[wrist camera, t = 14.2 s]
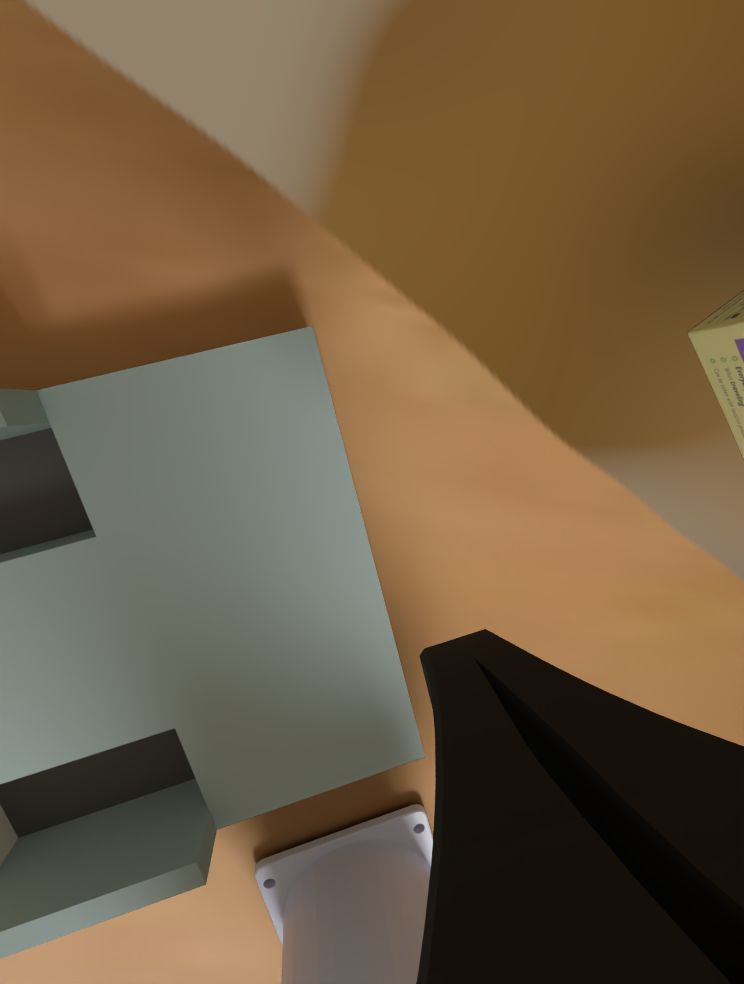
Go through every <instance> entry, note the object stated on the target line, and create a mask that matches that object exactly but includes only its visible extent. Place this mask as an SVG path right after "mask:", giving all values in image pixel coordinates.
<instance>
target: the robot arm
mask: <svg viewBox="0 0 744 984" xmlns="http://www.w3.org/2000/svg"><path fill="white" fill-rule="evenodd" d="M420 660H421V664H422V668H423V672H424V676H425V680H426V684H427V688H428V692H429V696H430V700H431V704H432V708H433V715H434V726H435V759H436V790H435V815H434V832H433V837H432V833H431V829H430V825H429V822H428V818H427V815H426V811H425V809H424V807H423V806H421V805H418V804H414V805H411V806H408V807H405V808H402V809H400V810H397V811H394V812H391V813H388V814H386V815H383V816H380V817H377V818H375V819H372V820H369V821H366V822H363V823H361V824H358V825H355V826H352V827H350V828H347V829H344V830H341V831H339V832H336V833H333V834H330V835H327V836H325V837H322V838H319V839H316V840H314V841H311V842H308V843H305V844H302V845H300V846H297V847H294V848H291V849H289V850H286V851H283V852H280V853H277V854H275V855H272V856H269V857H266V858H264V859H262V860H260V861H259V862H258V863H257V865H256V867H255V879H256V881H257V884H258V886H259V889H260V891H261V894H262V896H263V899H264V901H265V904H266V906H267V909H268V912H269V914H270V917H271V919H272V922H273V924H274V927H275V929H276V932H277V934H278V937H279V939H280V942H281V944H282V947H283V950H282V982H281V984H744V746H741V745H738V744H736V743H733V742H730V741H727V740H725V739H722V738H719V737H716V736H714V735H711V734H708V733H706V732H703V731H700V730H697V729H695V728H692V727H689V726H686V725H684V724H681V723H679V722H676V721H674V720H671V719H669V718H666V717H664V716H661V715H659V714H656V713H654V712H651V711H649V710H647V709H645V708H642V707H640V706H638V705H635V704H633V703H631V702H629V701H626V700H624V699H622V698H619V697H617V696H615V695H613V694H610V693H608V692H606V691H604V690H602V689H600V688H598V687H595V686H593V685H591V684H589V683H587V682H585V681H583V680H581V679H579V678H577V677H575V676H573V675H571V674H569V673H567V672H565V671H563V670H561V669H559V668H557V667H555V666H553V665H551V664H549V663H547V662H545V661H543V660H541V659H540V658H538V657H536V656H534V655H532V654H530V653H528V652H527V651H525V650H523V649H521V648H519V647H517V646H515V645H514V644H512V643H510V642H508V641H506V640H505V639H503V638H501V637H499V636H497V635H495V634H494V633H492V632H490V631H488V630H486V629H484V630H481V631H478V632H475V633H472V634H469V635H465V636H462V637H459V638H456V639H453V640H450V641H447V642H444V643H441V644H437V645H434V646H431V647H428V648H425V649H424V650H423V651H422V653H421V655H420ZM417 824H419V825H417Z"/></svg>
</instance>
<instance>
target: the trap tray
mask: <svg viewBox="0 0 744 984" xmlns="http://www.w3.org/2000/svg"><path fill="white" fill-rule="evenodd" d="M424 757H425V755H424V751H423V747H422V743H421V739H420V736H419V732H418V728H417V724H416V720H415V716H414V713H413V709H412V705H411V701H410V697H409V693H408V690H407V686H406V682H405V678H404V674H403V670H402V667H401V663H400V659H399V655H398V651H397V648H396V644H395V640H394V636H393V632H392V628H391V625H390V621H389V617H388V613H387V609H386V605H385V602H384V598H383V594H382V590H381V586H380V582H379V579H378V575H377V571H376V567H375V563H374V559H373V556H372V552H371V548H370V544H369V540H368V536H367V533H366V529H365V525H364V521H363V517H362V514H361V510H360V506H359V502H358V498H357V494H356V491H355V487H354V483H353V479H352V475H351V471H350V468H349V464H348V460H347V456H346V452H345V448H344V445H343V441H342V437H341V433H340V429H339V425H338V422H337V418H336V414H335V410H334V406H333V402H332V399H331V395H330V391H329V387H328V383H327V379H326V376H325V372H324V368H323V364H322V360H321V357H320V353H319V349H318V345H317V341H316V337H315V334H314V330H313V326H310V327H305V328H301V329H297V330H292V331H288V332H284V333H280V334H275V335H271V336H267V337H263V338H258V339H254V340H250V341H245V342H241V343H237V344H233V345H228V346H224V347H220V348H215V349H211V350H207V351H203V352H198V353H194V354H190V355H185V356H181V357H177V358H173V359H168V360H164V361H160V362H155V363H151V364H147V365H143V366H138V367H134V368H130V369H125V370H121V371H117V372H113V373H108V374H104V375H100V376H95V377H91V378H87V379H83V380H78V381H74V382H70V383H65V384H61V385H57V386H53V387H48V388H44V389H40V390H22V389H6V388H0V959H1V958H4V957H7V956H10V955H12V954H15V953H18V952H21V951H23V950H26V949H29V948H32V947H34V946H37V945H40V944H43V943H45V942H48V941H51V940H54V939H57V938H59V937H62V936H65V935H68V934H70V933H73V932H76V931H79V930H81V929H84V928H87V927H90V926H92V925H95V924H98V923H101V922H104V921H106V920H109V919H112V918H115V917H117V916H120V915H123V914H126V913H128V912H131V911H134V910H137V909H139V908H142V907H145V906H148V905H151V904H153V903H156V902H159V901H162V900H164V899H167V898H170V897H173V896H175V895H178V894H181V893H184V892H186V891H189V890H192V889H195V888H198V887H200V886H203V885H206V882H207V877H208V872H209V867H210V861H211V856H212V851H213V846H214V841H215V836H216V831H217V830H218V829H220V828H223V827H226V826H229V825H232V824H235V823H238V822H240V821H243V820H246V819H249V818H252V817H255V816H258V815H260V814H263V813H266V812H269V811H272V810H275V809H278V808H280V807H283V806H286V805H289V804H292V803H295V802H298V801H301V800H303V799H306V798H309V797H312V796H315V795H318V794H321V793H323V792H326V791H329V790H332V789H335V788H338V787H341V786H343V785H346V784H349V783H352V782H355V781H358V780H361V779H363V778H366V777H369V776H372V775H375V774H378V773H381V772H384V771H386V770H389V769H392V768H395V767H398V766H401V765H404V764H406V763H409V762H412V761H415V760H418V759H421V758H424Z"/></svg>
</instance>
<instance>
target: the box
mask: <svg viewBox="0 0 744 984" xmlns="http://www.w3.org/2000/svg"><path fill="white" fill-rule="evenodd" d="M687 333H688V336H689V339H690V341H691V343H692V345H693V347H694V350H695V352H696V353H697V356H698V358H699V359H700V362H701V364H702V366H703V369H704V371H705V373H706V375H707V378H708V380H709V382H710V384H711V387H712V389H713V391H714V393H715V395H716V398H717V400H718V402H719V404H720V407H721V409H722V411H723V413H724V415H725V418H726V420H727V422H728V425H729V427H730V429H731V432H732V434H733V436H734V438H735V441H736V443H737V445H738V447H739V450H740V452H741V454H742V457H743V459H744V291H742V292H741V293H739V294H738V295H737V296H735V297H734V298H733V299H731V300H730V301H728V302H727V303H726V304H724V305H723V306H722V307H720V308H719V309H718V310H716V311H715V312H714V313H712V314H711V315H710V316H708V317H707V318H706V319H704V320H703V321H702V322H700V323H699V324H697V325H696V326H695V327H693V328H692V329H691V330H689V331H688V332H687Z"/></svg>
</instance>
